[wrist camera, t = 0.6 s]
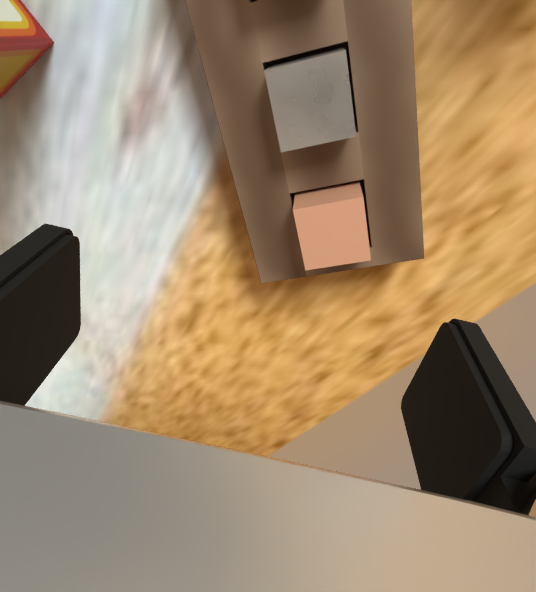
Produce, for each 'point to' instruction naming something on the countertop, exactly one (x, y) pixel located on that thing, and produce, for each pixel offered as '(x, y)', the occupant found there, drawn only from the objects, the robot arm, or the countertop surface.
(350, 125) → the grey cube
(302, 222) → the salmon pink cube
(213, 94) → the key panel
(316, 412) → the countertop surface
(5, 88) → the baking soda box
